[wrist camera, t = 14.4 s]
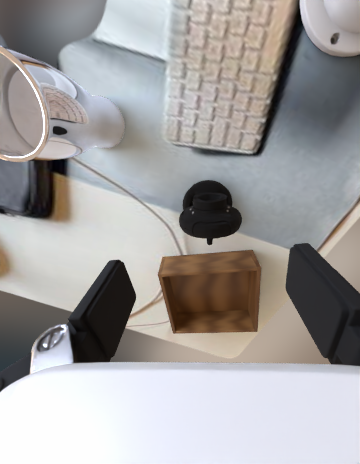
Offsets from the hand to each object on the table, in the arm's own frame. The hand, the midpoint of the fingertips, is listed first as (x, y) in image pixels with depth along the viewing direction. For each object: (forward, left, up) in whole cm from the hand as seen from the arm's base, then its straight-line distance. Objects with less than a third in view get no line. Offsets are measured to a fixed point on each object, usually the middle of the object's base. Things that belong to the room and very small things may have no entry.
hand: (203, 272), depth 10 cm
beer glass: (+12, -10, -20) cm, 25 cm away
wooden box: (0, +20, -20) cm, 28 cm away
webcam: (-1, +3, -20) cm, 20 cm away
